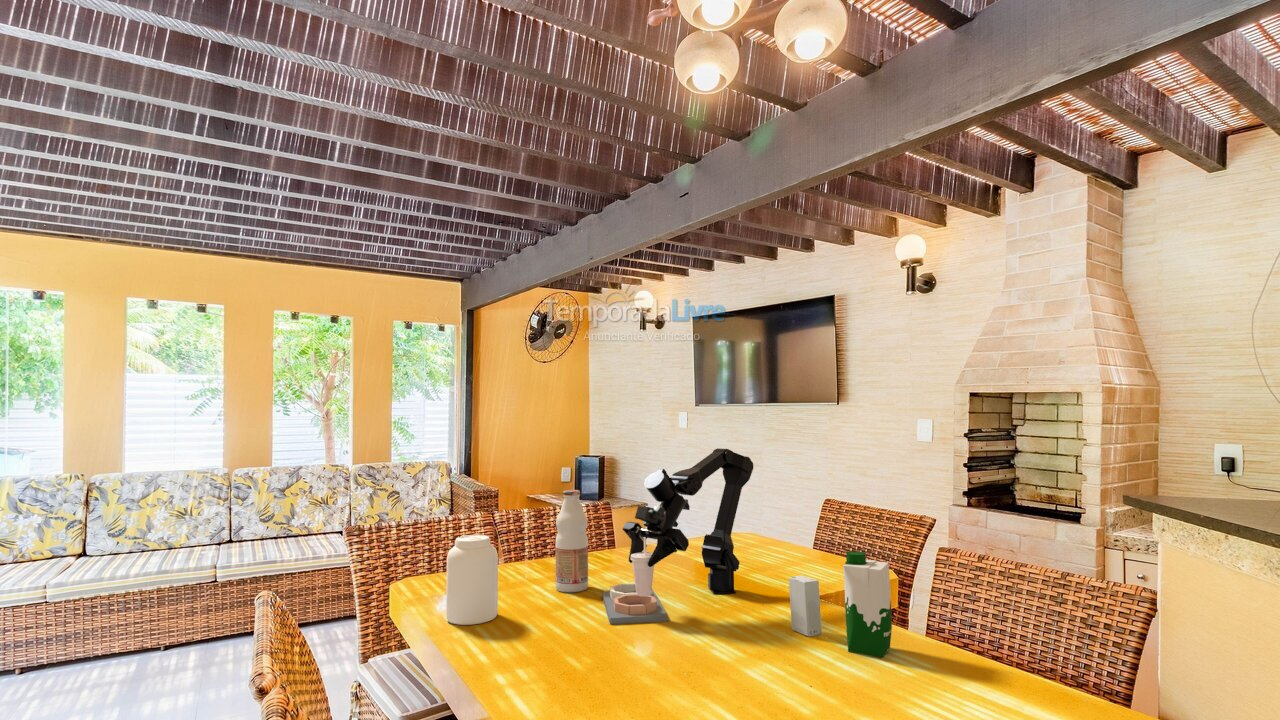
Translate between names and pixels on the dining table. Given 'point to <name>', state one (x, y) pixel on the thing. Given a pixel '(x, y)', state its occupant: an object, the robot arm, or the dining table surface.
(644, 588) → the smoothie
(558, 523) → the fruit juice
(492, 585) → the white plastic jar
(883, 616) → the milk carton
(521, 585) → the dining table surface
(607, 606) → the board
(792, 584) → the skincare box
